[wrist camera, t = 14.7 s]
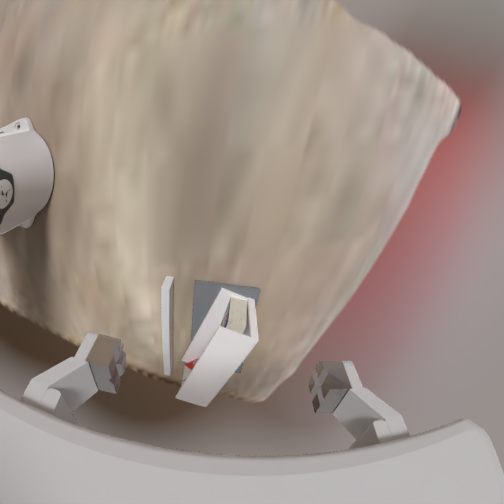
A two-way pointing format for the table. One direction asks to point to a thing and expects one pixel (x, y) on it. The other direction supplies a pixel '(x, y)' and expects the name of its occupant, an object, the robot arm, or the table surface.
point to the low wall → (167, 323)
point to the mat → (207, 295)
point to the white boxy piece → (218, 347)
